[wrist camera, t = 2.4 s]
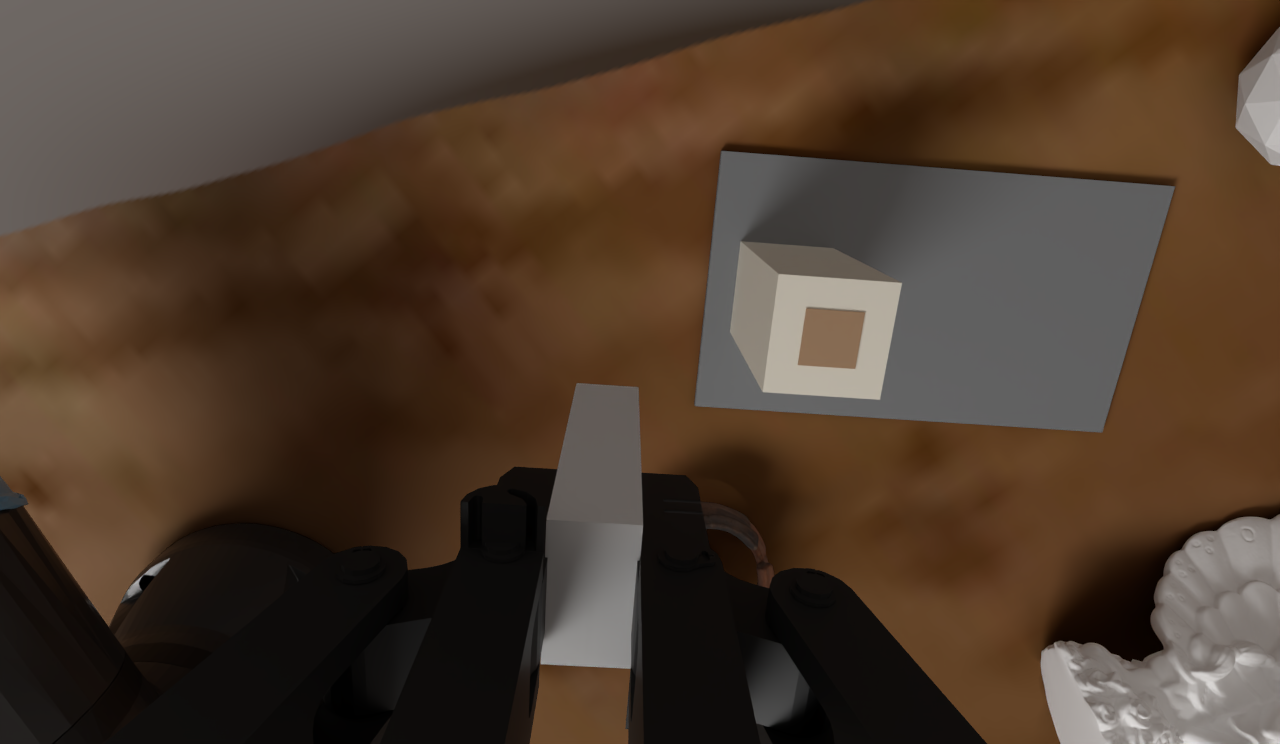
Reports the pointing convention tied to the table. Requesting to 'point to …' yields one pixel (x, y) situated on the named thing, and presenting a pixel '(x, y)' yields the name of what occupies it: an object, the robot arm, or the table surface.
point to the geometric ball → (1261, 101)
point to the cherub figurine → (1186, 653)
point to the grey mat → (949, 284)
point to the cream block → (813, 320)
